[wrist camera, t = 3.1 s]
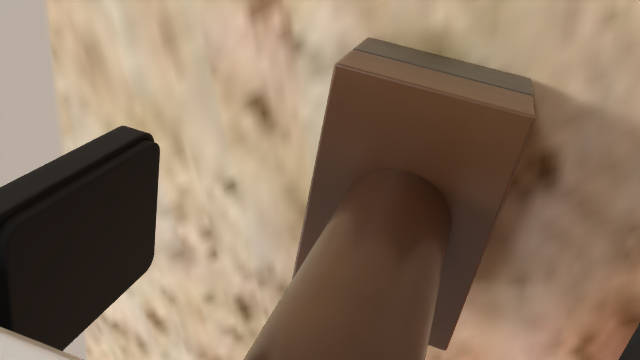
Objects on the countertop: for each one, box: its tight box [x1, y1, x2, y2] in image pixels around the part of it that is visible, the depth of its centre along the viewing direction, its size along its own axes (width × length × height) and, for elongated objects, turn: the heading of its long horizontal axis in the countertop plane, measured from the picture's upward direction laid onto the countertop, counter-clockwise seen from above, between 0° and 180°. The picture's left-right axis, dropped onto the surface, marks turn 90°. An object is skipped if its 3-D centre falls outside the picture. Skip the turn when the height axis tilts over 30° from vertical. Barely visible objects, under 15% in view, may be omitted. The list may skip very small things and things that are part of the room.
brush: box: [243, 38, 536, 360], centre depth 11 cm, size 6×4×9 cm, turn 169°
